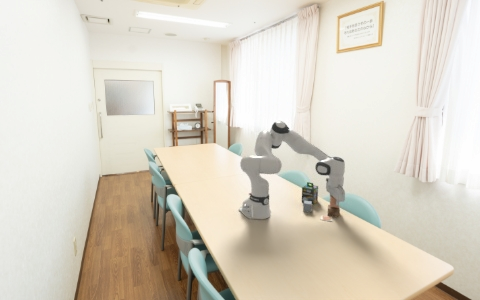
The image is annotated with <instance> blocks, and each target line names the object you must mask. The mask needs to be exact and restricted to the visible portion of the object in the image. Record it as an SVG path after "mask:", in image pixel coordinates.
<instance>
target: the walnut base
mask: <svg viewBox="0 0 480 300" xmlns="http://www.w3.org/2000/svg"><path fill="white" fill-rule="evenodd" d="M327 205H328V206H327V216H329V217H332V218H333V217H334V218H340V213H341V209H340V208H341V206H339V208H335V207H330V204H327Z"/></svg>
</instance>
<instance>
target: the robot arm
mask: <svg viewBox="0 0 480 300" xmlns="http://www.w3.org/2000/svg"><path fill="white" fill-rule="evenodd" d="M255 140H256V141H255V146H254V153H255V155H246V156H245V155H244V156H243V157H242V158H241V160H240V162H239V164H240V165H239V167H240V169H241V171H242V172H243V173H245V174H246V176H248V178H249V180H250V187H251V191H250V193H248V196H249V197H248V198H247V199H245V200H244V201H243V202H242V204H241V205H242V206H240V207H239V208H238V211H239V212H240V213H242V214H243V215H244V216H245V217H246V218H247V219H249V220H250V219H254V220H265V219H268V218H269V217H270V216H271V215H272V214H271V209H270V191H269V190H270V183H269V181H268V180H267V179H265V178H264V177H262V176H261V175H262V174H263V175H274V174H275V175H276V174H279V173H280V172H281V169H282V166H283V165H282V161H281V160H280V158H278V156H277V157H276V156H275V155H274V153H273V152H272V149H279V148H280V147H281V145H282V143H283V142H284V143H286V145H288V146H289V148H290V149H291V150H292V151H294V152H296V154H298V155H310V156H311V157H314V158H315V159H317V162H316V164H315V171H316V173H317V174H318V175H320V176H328V177H327V178H326V179H325V189H326V192H327V193H328V194H329V196H330V195H332V196H333V197H334V198H335V199H336V202H335V205H340V202H341V203H344V202H345V199H346V197H345V196H346V192H345V189H344V187H343V186H344V179H345V178H344V174H345V172H346V169H345V168H346V164H345V163H346V162H345V160H344V158H341V157H339V156H332V157H331V156H329V155H328V154H327V153H326V152H323V151H322V150H321V149H320V148H318V147H317V146H315V145H314V144H312V143H311V142H309V141H308V140H307V139H306V138H304V137H303V136H302V135H301V134H300V133H298V132H297V131H296V130H293V129H290V127H289V126H288V125H287V124H286V123H285V122H284V121H281V120H276V121H274V122H273V124H272V125H271V128H270V130H269V131H268V130H262V131H260V132H259V133H258V134H257V136H256V139H255Z"/></svg>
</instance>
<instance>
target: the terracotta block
mask: <svg viewBox="0 0 480 300" xmlns="http://www.w3.org/2000/svg"><path fill="white" fill-rule="evenodd" d="M329 197H330V198H329V205H330V207H335V208H339V207H340V206H339V205H340V204H339V205H335V202H336V199H335V198H334V197H333V196H332V195H330V194H329Z"/></svg>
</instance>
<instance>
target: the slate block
mask: <svg viewBox="0 0 480 300" xmlns="http://www.w3.org/2000/svg"><path fill="white" fill-rule="evenodd" d="M312 206H313V205H312V201H305V200H304V202H303V206H302V212H303V213H312V208H313V207H312Z"/></svg>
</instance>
